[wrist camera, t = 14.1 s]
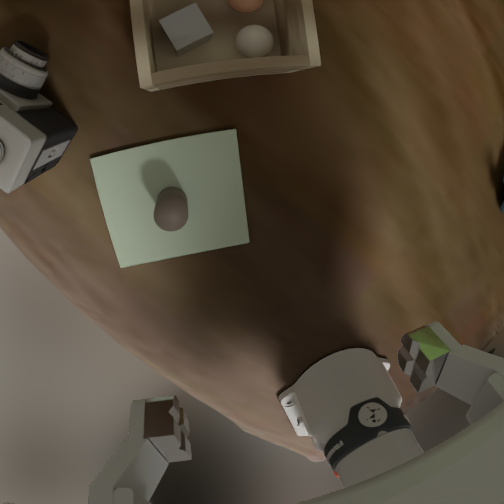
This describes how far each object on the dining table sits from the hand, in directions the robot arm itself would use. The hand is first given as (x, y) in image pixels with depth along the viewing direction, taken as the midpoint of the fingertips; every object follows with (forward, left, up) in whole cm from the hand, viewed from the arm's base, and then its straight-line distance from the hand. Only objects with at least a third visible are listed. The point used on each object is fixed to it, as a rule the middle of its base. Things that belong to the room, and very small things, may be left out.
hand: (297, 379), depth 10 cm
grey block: (+15, +1, -20) cm, 25 cm away
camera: (+14, +16, -22) cm, 30 cm away
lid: (0, +5, -22) cm, 22 cm away
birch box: (+15, -1, -21) cm, 26 cm away
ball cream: (+13, -4, -19) cm, 23 cm away
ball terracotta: (+17, -4, -19) cm, 26 cm away
